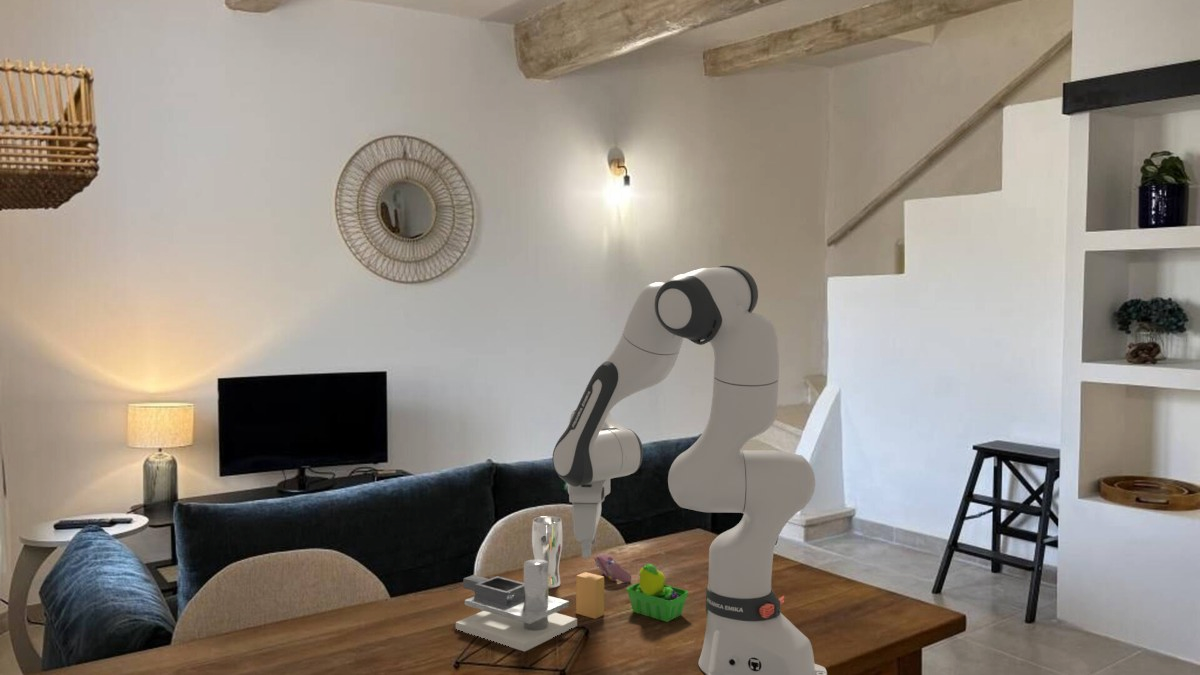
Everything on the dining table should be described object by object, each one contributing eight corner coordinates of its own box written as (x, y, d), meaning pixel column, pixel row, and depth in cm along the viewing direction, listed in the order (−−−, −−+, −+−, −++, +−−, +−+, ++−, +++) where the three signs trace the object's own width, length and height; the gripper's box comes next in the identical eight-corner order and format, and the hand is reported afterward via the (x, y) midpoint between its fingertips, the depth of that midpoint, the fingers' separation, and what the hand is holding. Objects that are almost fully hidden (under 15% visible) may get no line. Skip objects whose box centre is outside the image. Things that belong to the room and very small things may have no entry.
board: (577, 625, 180) (577, 618, 180) (524, 651, 167) (524, 643, 167) (509, 606, 191) (509, 599, 191) (455, 629, 178) (455, 622, 178)
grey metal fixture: (569, 621, 179) (569, 559, 178) (529, 639, 169) (529, 574, 168) (488, 598, 191) (488, 540, 191) (447, 614, 182) (447, 553, 181)
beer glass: (558, 590, 201) (558, 524, 200) (528, 588, 203) (528, 522, 202) (565, 580, 208) (565, 516, 207) (536, 578, 209) (536, 515, 209)
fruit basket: (690, 615, 187) (690, 561, 186) (665, 627, 180) (666, 571, 179) (646, 602, 194) (646, 551, 193) (620, 614, 187) (621, 560, 186)
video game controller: (600, 579, 214) (588, 554, 212) (615, 568, 216) (603, 544, 214) (618, 591, 205) (606, 566, 204) (634, 580, 207) (622, 555, 205)
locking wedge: (604, 614, 187) (604, 576, 186) (595, 618, 184) (595, 580, 184) (584, 609, 190) (585, 571, 189) (576, 613, 187) (576, 575, 187)
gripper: (579, 472, 196) (578, 534, 197) (568, 496, 175) (568, 565, 177) (608, 472, 195) (607, 535, 196) (600, 497, 175) (600, 566, 176)
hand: (588, 549), depth 186 cm, fingers open, 8 cm apart
